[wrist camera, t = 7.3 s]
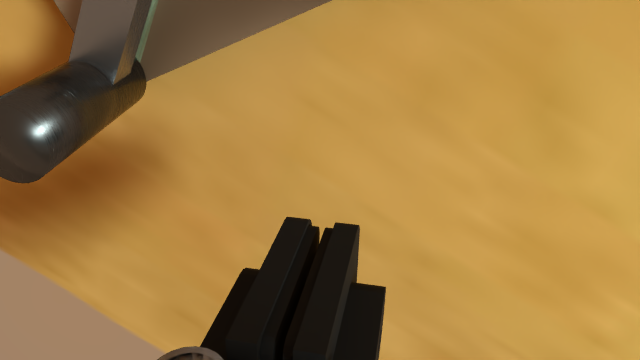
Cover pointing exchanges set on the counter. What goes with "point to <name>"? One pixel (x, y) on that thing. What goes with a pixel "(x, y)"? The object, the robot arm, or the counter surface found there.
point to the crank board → (198, 27)
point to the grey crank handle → (75, 91)
